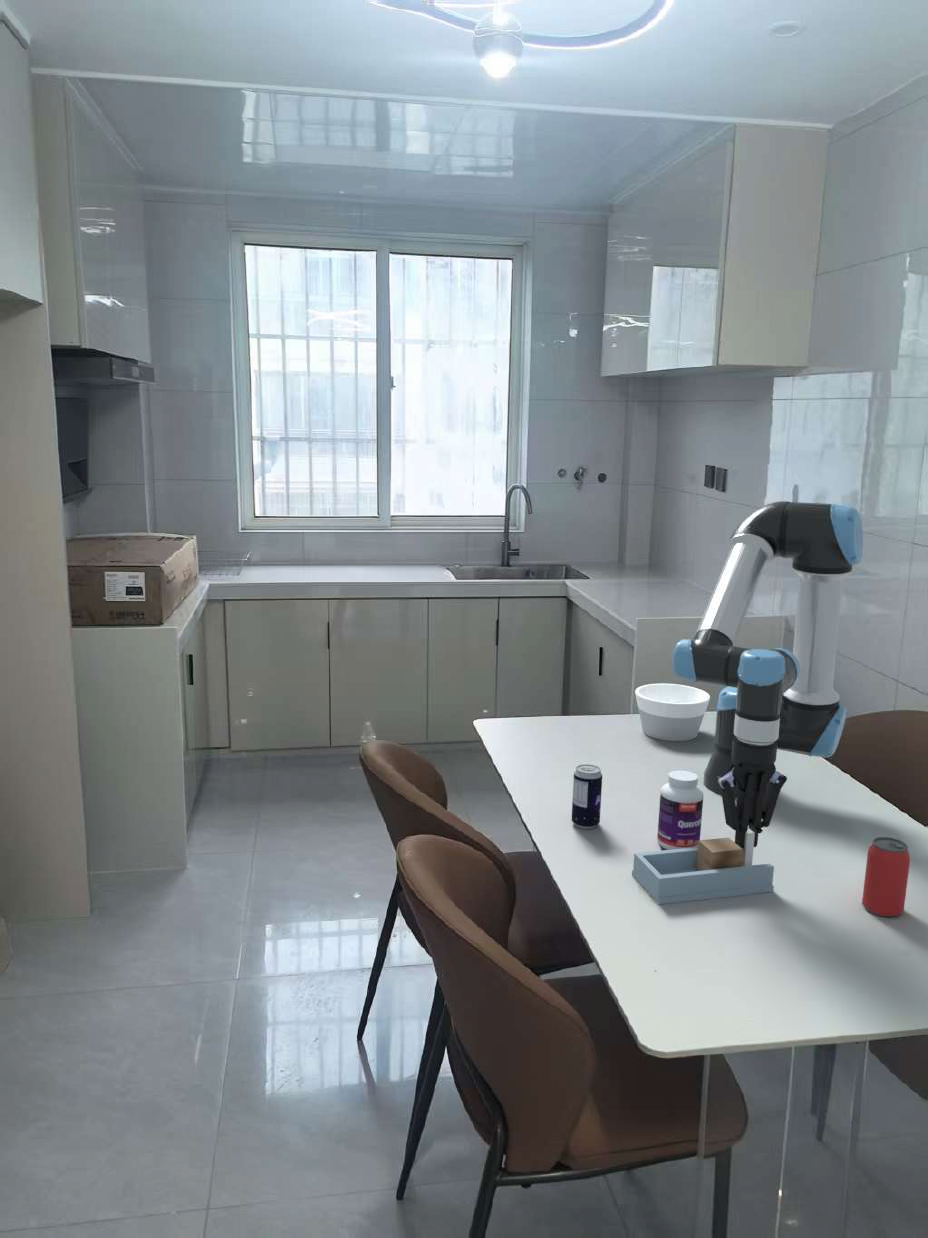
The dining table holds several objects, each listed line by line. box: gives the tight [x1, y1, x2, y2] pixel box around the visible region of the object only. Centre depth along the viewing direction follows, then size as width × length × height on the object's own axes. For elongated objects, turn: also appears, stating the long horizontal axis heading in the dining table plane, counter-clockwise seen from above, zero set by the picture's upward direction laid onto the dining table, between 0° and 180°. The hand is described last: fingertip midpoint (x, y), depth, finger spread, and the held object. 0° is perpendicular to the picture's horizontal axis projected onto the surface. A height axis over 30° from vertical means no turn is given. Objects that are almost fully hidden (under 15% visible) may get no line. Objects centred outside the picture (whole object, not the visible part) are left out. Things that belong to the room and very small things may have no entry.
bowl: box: [634, 683, 711, 742], centre depth 255 cm, size 19×19×11 cm
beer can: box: [861, 836, 911, 918], centre depth 164 cm, size 7×7×12 cm
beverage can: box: [571, 764, 603, 830], centre depth 196 cm, size 6×6×12 cm
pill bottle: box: [656, 770, 704, 850], centre depth 187 cm, size 8×8×14 cm
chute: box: [631, 847, 775, 905], centre depth 173 cm, size 22×11×4 cm, turn 105°
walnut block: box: [696, 837, 743, 871], centre depth 173 cm, size 6×5×6 cm
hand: (744, 863), depth 175 cm, fingers closed
